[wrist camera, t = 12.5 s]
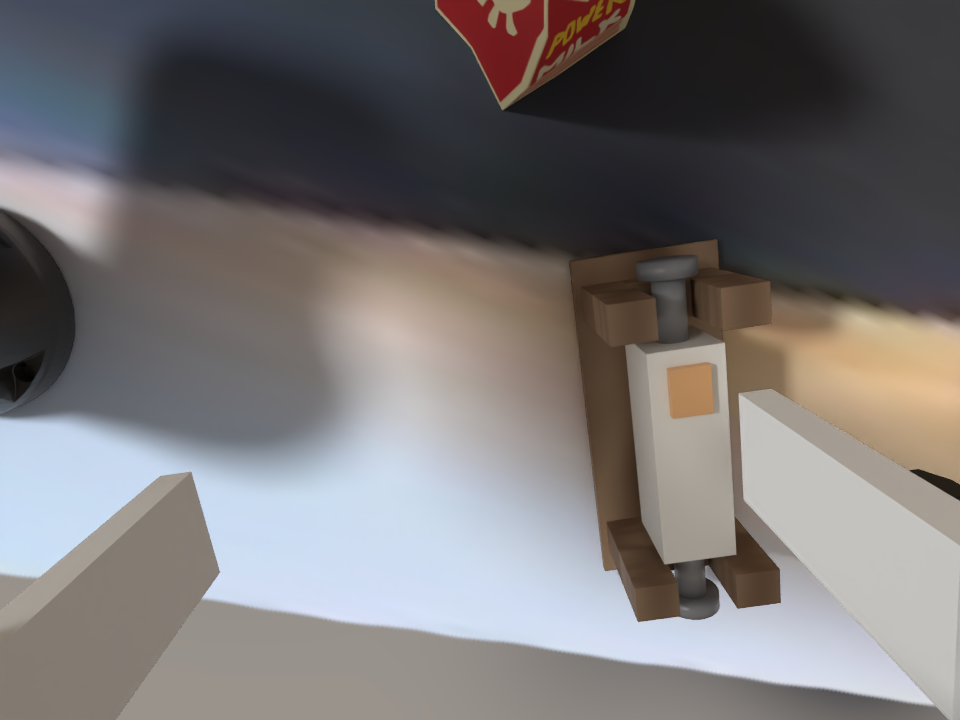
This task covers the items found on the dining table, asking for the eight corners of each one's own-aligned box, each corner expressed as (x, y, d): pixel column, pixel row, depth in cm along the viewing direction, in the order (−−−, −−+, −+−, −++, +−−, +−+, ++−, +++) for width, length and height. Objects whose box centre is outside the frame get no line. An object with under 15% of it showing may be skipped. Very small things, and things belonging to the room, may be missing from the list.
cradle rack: (603, 566, 47) (632, 647, 39) (569, 261, 42) (594, 274, 33) (730, 549, 47) (789, 626, 38) (713, 239, 41) (778, 246, 33)
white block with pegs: (647, 581, 45) (673, 637, 39) (617, 261, 39) (641, 270, 33) (708, 573, 45) (743, 627, 39) (687, 250, 39) (724, 257, 33)
